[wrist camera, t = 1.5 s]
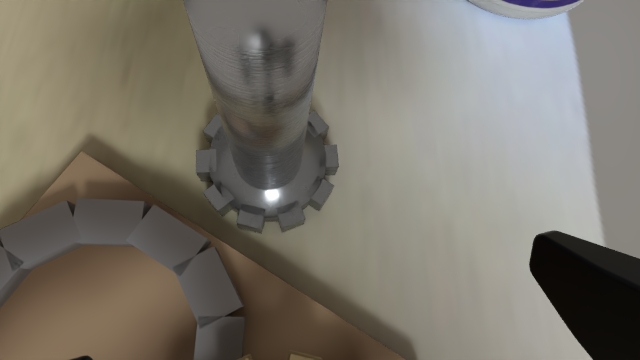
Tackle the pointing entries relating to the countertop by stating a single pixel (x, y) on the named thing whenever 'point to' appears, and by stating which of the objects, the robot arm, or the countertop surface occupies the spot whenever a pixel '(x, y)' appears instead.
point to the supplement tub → (527, 7)
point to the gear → (263, 109)
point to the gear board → (148, 286)
